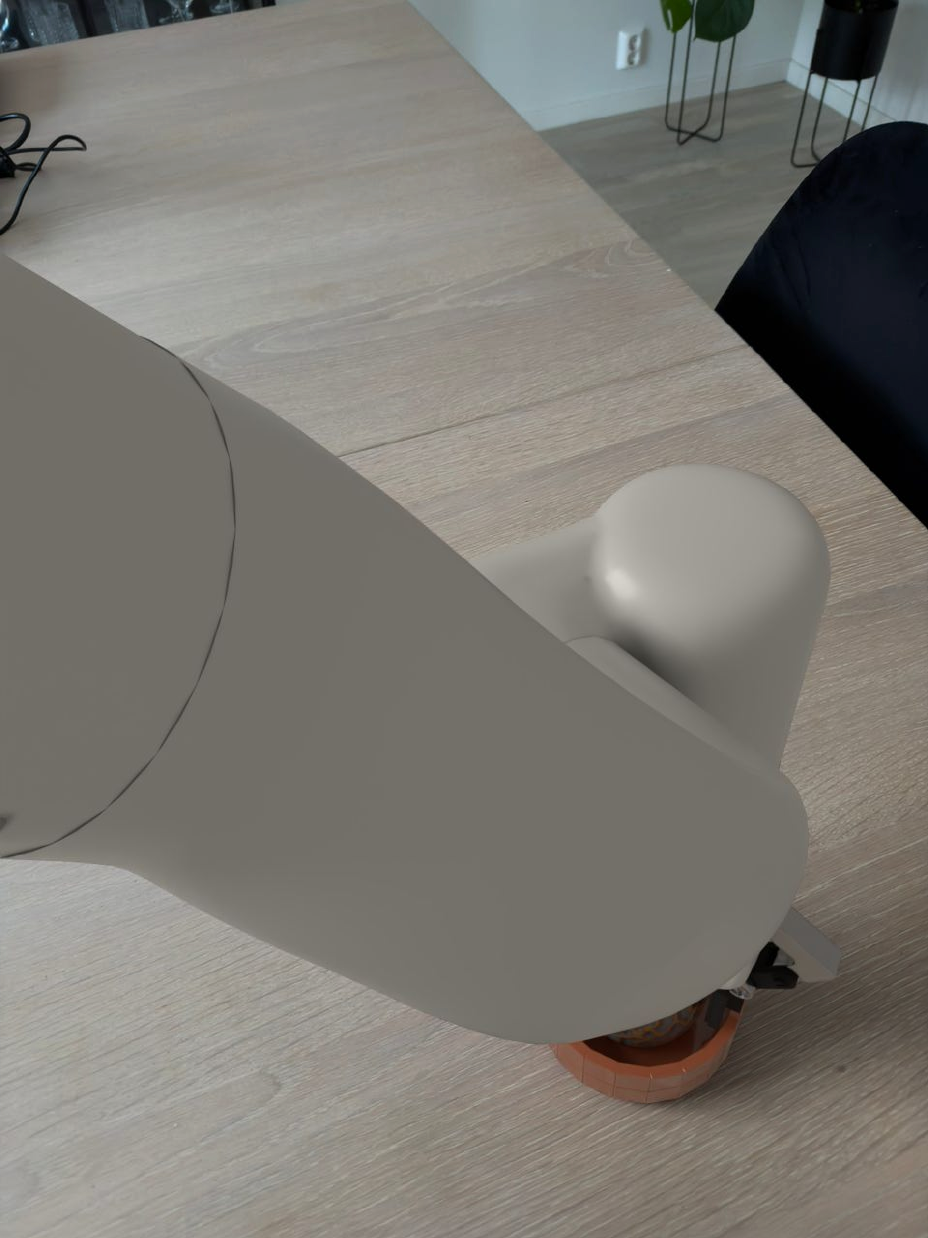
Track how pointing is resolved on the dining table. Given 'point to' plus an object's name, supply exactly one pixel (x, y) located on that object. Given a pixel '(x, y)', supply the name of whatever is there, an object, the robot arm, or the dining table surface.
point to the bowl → (651, 1061)
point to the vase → (660, 1028)
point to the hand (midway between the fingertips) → (641, 964)
